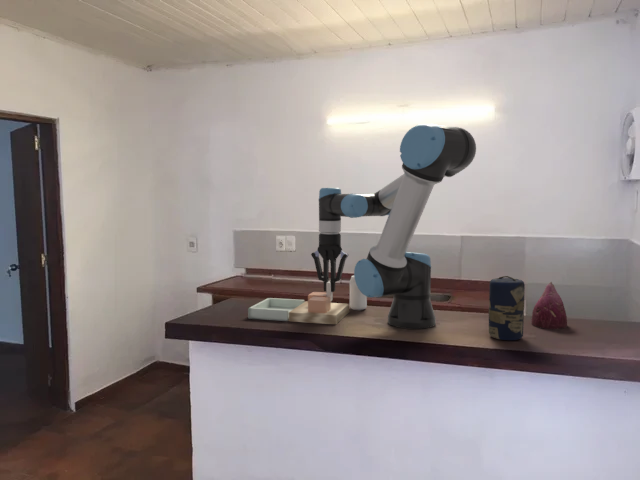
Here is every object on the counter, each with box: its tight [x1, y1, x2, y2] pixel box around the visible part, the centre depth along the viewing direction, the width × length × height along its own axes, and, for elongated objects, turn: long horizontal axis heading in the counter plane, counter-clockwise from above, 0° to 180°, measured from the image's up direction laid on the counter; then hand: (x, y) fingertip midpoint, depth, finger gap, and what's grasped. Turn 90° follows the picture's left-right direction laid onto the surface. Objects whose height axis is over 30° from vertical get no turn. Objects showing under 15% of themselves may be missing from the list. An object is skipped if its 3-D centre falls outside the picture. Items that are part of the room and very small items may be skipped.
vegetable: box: [530, 281, 568, 330], centre depth 165 cm, size 10×10×15 cm
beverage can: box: [349, 274, 368, 311], centre depth 188 cm, size 6×6×12 cm
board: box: [288, 300, 350, 325], centre depth 177 cm, size 16×18×3 cm
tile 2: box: [307, 291, 326, 301], centre depth 180 cm, size 6×6×4 cm
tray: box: [247, 297, 305, 322], centre depth 181 cm, size 14×18×4 cm
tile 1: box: [307, 297, 332, 313], centre depth 172 cm, size 6×6×4 cm
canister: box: [488, 275, 526, 341], centre depth 149 cm, size 10×10×18 cm
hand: (329, 300), depth 180 cm, fingers closed
